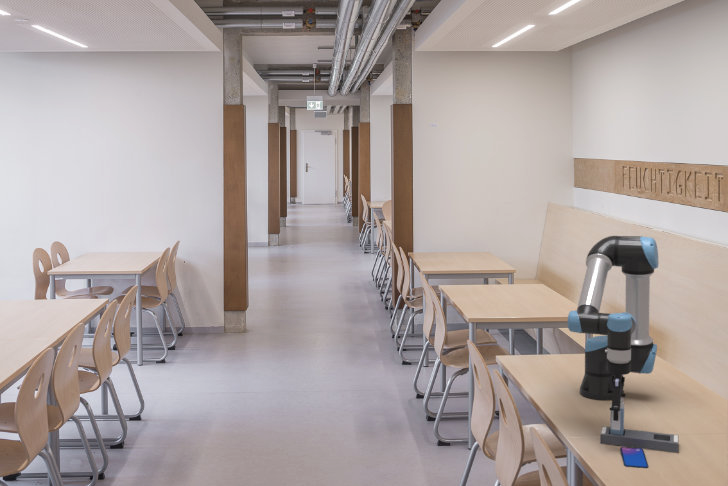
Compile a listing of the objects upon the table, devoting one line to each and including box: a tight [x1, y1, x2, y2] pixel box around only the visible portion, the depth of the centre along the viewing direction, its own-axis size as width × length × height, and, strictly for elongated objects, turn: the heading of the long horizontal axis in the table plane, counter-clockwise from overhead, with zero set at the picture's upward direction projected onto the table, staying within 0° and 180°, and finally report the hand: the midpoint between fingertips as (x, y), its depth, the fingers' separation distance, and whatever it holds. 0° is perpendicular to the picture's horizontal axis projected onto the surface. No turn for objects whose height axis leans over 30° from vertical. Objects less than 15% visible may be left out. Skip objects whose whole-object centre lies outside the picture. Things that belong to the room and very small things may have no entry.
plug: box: [610, 402, 625, 436], centre depth 253 cm, size 4×4×13 cm
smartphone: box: [619, 446, 649, 469], centre depth 239 cm, size 7×1×15 cm
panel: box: [599, 426, 680, 454], centre depth 250 cm, size 8×24×3 cm, turn 68°
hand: (617, 422), depth 252 cm, fingers open, 13 cm apart
